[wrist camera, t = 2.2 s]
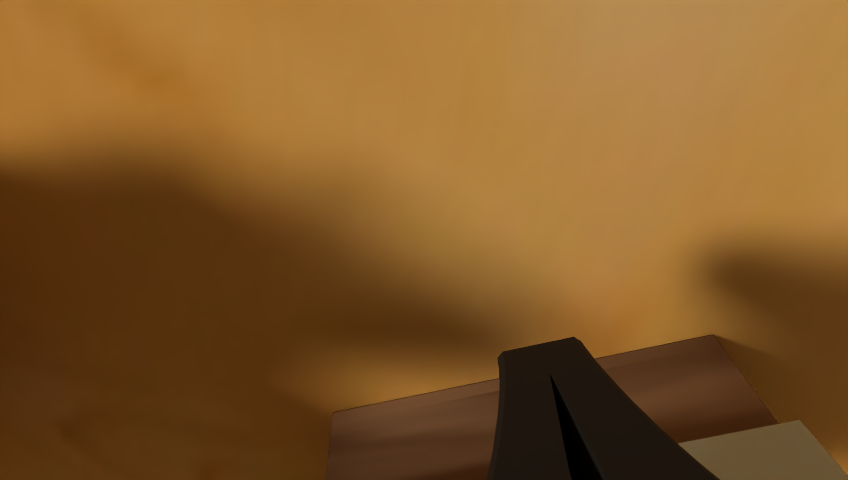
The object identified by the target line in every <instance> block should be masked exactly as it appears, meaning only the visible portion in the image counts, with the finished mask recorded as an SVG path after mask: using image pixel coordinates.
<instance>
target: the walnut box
mask: <svg viewBox="0 0 848 480" xmlns="http://www.w3.org/2000/svg"><path fill="white" fill-rule="evenodd" d="M595 360H596V361H597V362H598V364H599V365H600V366H601V367H602V368H603V369H604V371H605V372H606V373H607V374H608V375H609V376H610V377H611V378H612V379H613V381H614V382H615V383H616V384H617V385H618V386H619V387H620V388H621V389H622V390H623V391H624V392H625V393H626V394H627V396H628V397H629V398H630V399H631V400H632V401H633V402H634V403H635V404H636V405H637V406H638V407H639V408H640V409H641V410H643V411H644V412H645V413H646V414H647V415H648V416H649V417H650V418H651V419H652V420H653V421H654V422H655V423H656V424H657V425H658V426H659V427H660V428H661V429H662V430H663V431H664V432H665V433H666V434H668V435H669V436H670V437H671V438H672V439H673V440H674V441H675V442H676V443H677V444H678V443H683V442H688V441H693V440H698V439H703V438H709V437H714V436H719V435H724V434H729V433H734V432H739V431H744V430H750V429H755V428H760V427H765V426H770V425H775V424H778V423H777V421H776V420H775V418H774V417H773V416H772V414H771V413H770V412H769V410H768V409H767V408H766V406H765V405H764V403H763V402H762V401H761V399H760V398H759V397H758V395H757V394H756V392H755V391H754V390H753V388H752V387H751V386H750V384H749V383H748V382H747V380H746V379H745V377H744V376H743V375H742V373H741V372H740V371H739V369H738V368H737V366H736V365H735V364H734V362H733V361H732V360H731V358H730V357H729V356H728V354H727V353H726V351H725V350H724V349H723V347H722V346H721V345H720V343H719V342H718V341H717V339H716V338H715V336H714V335H709V336H704V337H700V338H695V339H690V340H685V341H680V342H675V343H670V344H666V345H661V346H656V347H651V348H646V349H641V350H636V351H631V352H627V353H622V354H617V355H612V356H607V357H602V358H597V359H595ZM499 385H500V379H495V380H490V381H485V382H480V383H476V384H471V385H466V386H461V387H456V388H451V389H446V390H441V391H437V392H432V393H427V394H422V395H417V396H412V397H407V398H403V399H398V400H393V401H388V402H383V403H378V404H373V405H368V406H364V407H359V408H354V409H349V410H344V411H339V412H334V413H333V419H332V428H331V437H330V446H329V455H328V464H327V473H326V480H487V475H488V471H489V466H490V461H491V456H492V451H493V444H494V437H495V430H496V423H497V416H498V404H499Z"/></svg>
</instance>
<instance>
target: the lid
mask: <svg viewBox="0 0 848 480" xmlns="http://www.w3.org/2000/svg"><path fill="white" fill-rule="evenodd" d="M678 444H679V445H680V446H681V447H682V448H683V449H684V450H686V451H687V452H688V453H689V454H690V455H691V456H692V457H694V458H695V459H696V460H697V461H698V462H699V463H701V464H702V465H703V466H704V467H705V468H707V469H708V470H709V471H710V472H711V473H713V474H714V475H715V476H716V477H717V478H719V479H720V480H848V475H847V474H846V473H845V472H844V471H843V469H842V468H841V467H840V466H839V465H838V464H837V462H836V461H835V460H834V459H833V458H832V457H831V455H830V454H829V453H828V452H827V451H826V450H825V448H824V447H823V446H822V445H821V444H820V443H819V441H818V440H817V439H816V438H815V437H814V436H813V435H812V433H811V432H810V431H809V430H808V429H807V428H806V426H805V425H804V424H803V423H802V422H801V421H800V420H796V421H791V422H786V423H780V424H775V425H770V426H765V427H760V428H755V429H750V430H744V431H739V432H734V433H729V434H724V435H719V436H714V437H709V438H703V439H698V440H693V441H688V442H683V443H678Z"/></svg>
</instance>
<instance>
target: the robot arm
mask: <svg viewBox="0 0 848 480" xmlns="http://www.w3.org/2000/svg"><path fill="white" fill-rule="evenodd" d="M497 359H498V365H499V379H500V385H499V404H498V416H497V423H496V430H495V437H494V444H493V451H492V456H491V461H490V466H489V471H488V475H487V480H720V479H719V478H717V477H716V476H715V475H714V474H713V473H711V472H710V471H709V470H708V469H707V468H705V467H704V466H703V465H702V464H701V463H699V462H698V461H697V460H696V459H695V458H694V457H692V456H691V455H690V454H689V453H688V452H687V451H686V450H684V449H683V448H682V447H681V446H680V445H679V444H677V443H676V442H675V441H674V440H673V439H672V438H671V437H670V436H669V435H668V434H666V433H665V432H664V431H663V430H662V429H661V428H660V427H659V426H658V425H657V424H656V423H655V422H654V421H653V420H652V419H651V418H650V417H649V416H648V415H647V414H646V413H645V412H644V411H643V410H641V409H640V408H639V407H638V406H637V405H636V404H635V403H634V402H633V401H632V400H631V399H630V398H629V397H628V396H627V394H626V393H625V392H624V391H623V390H622V389H621V388H620V387H619V386H618V385H617V384H616V383H615V382H614V381H613V379H612V378H611V377H610V376H609V375H608V374H607V373H606V372H605V371H604V369H603V368H602V367H601V366H600V365H599V364H598V362H597V361H596V360H595V359H594V358H593V356H592V355H591V354H590V353H589V351H588V350H587V349H586V348H585V346H584V345H583V343H582V342H581V341H580V340H578V339H576V338H575V337H571V338H566V339H561V340H556V341H552V342H547V343H542V344H537V345H532V346H528V347H523V348H518V349H513V350H508V351H504V352H502V353H501V355H500V356H499V357H498V358H497Z"/></svg>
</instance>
